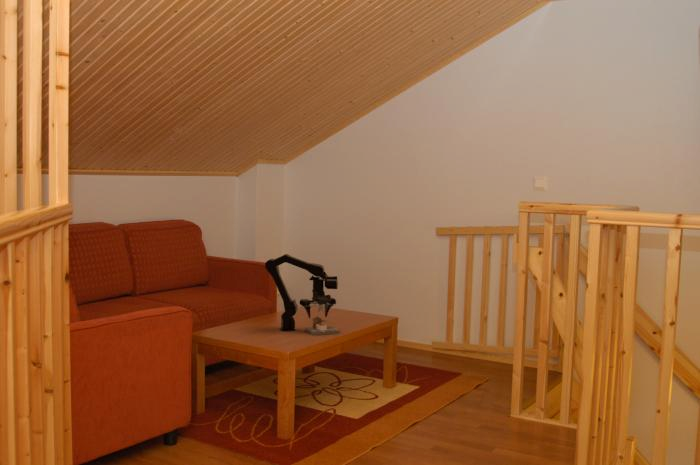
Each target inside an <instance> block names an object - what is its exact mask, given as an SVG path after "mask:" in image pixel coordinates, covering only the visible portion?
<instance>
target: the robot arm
mask: <svg viewBox="0 0 700 465" xmlns="http://www.w3.org/2000/svg"><path fill="white" fill-rule="evenodd" d="M285 263H287V264H289V265H292V266H295V267H298V268H301V269H303V270H305V271H307V272H308V273H309V274H311V277H310V278H309V281H312V289H311V292H312V297H311V300H310V299H308V298H301V299H300V300H299V305H301V306H302V307H304V309H305V311H306V314H307V317H308V318H309V319H311V308H312V306H311V305H313V304H317V303H318V304H319V305H322V304H325V308H324V317H325V318H327V317H328V314H329V312H330V309H331V308H332V307H333V306H334V305H336V304H337V299H335V298H333V297H332V296H331V294H325V291H324V290H325V289H324V287H325V288H326V290H338V286H339V282H338V276H336V275H334V276H330V275H328V274H327V272H326V271H325V268H324V267H325V266H324V265H322V264H319V263H313V262H308V261H305V260H302V259H299V258H297V257H295V256H292V255H290V254H287V253H284V254H283V255H281V256H279V257H276V258H269V259H268V260H267V261H266V262H265V264H264V268H265V269H266V271H267V272H268V274H269V275H270V276H271V277H272V279H273V281H274V284H275V286H276V288H277V290H278V292H279V295H280V297H281V299H282V302H283V308H284V311H283V313H282V314H281V315H280V317H281V318H280V327H279V329H280V330H281V331H283V332H284V331H295V330H296V329H295V327H296V321H295V317H294V316H295V315H296V314H297V312H298V310H299V309H298V308H299V305H298V304H297V301H296V299H292V297H291V296H290V294H289V292H288V291H289V290H288V288H287V287H286V285H285V283H284V280H283V278H282V276H281V273H280V268H279V266H280V265H282V264H285Z"/></svg>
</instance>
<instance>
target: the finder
mask: <svg viewBox="0 0 700 465" xmlns="http://www.w3.org/2000/svg"><path fill="white" fill-rule="evenodd" d="M327 326H328V325H326V324H325V323H322V324H321V323H319V324H316V329H317V330H319V331H323V330H327Z"/></svg>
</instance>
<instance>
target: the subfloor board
mask: <svg viewBox="0 0 700 465" xmlns="http://www.w3.org/2000/svg"><path fill="white" fill-rule="evenodd" d="M304 331H305V332H306V333H309V334H311V335H312V336H321V335H331V334H332V335H334V334H335V335H336V334H340V333H341V330H340V329H338V328H336V327H334V326H333V325H327V330H323V331H319V330H317V329H315V328H313V326H312V327H311V326H309V327H304Z"/></svg>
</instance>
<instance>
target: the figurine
mask: <svg viewBox="0 0 700 465" xmlns="http://www.w3.org/2000/svg"><path fill="white" fill-rule="evenodd" d="M311 305H312V306H311V308H313V307H317V316H318V318H321V319H322V321H323V322H324V321H325V319H323V316H322V315H319V312H320V313H323V312H324V309H325V304H322V305H319V304H318V303H317V304H311Z"/></svg>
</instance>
